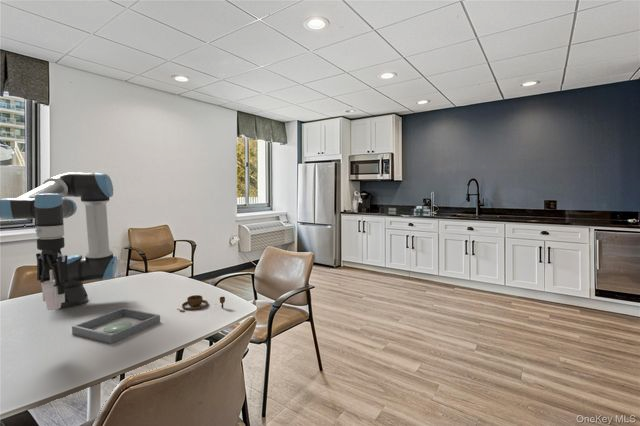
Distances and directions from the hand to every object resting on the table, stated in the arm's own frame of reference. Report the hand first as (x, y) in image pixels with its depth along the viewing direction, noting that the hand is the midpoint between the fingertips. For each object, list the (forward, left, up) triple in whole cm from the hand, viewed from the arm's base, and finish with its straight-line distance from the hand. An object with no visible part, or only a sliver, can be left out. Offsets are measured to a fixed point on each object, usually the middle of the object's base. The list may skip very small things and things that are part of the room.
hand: (53, 301), depth 117 cm
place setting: (+20, +51, -18) cm, 57 cm away
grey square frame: (+5, +20, -17) cm, 27 cm away
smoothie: (0, 0, -3) cm, 3 cm away
